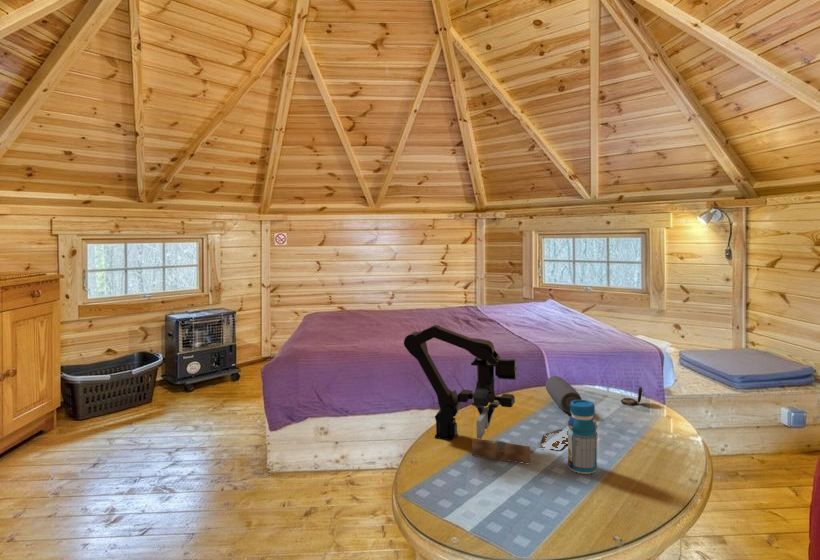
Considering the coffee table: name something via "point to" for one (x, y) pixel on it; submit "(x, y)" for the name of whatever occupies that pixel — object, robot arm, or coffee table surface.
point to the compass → (632, 401)
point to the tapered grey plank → (482, 423)
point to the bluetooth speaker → (561, 392)
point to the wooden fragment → (553, 443)
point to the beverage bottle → (582, 437)
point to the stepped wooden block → (500, 451)
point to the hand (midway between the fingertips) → (486, 422)
